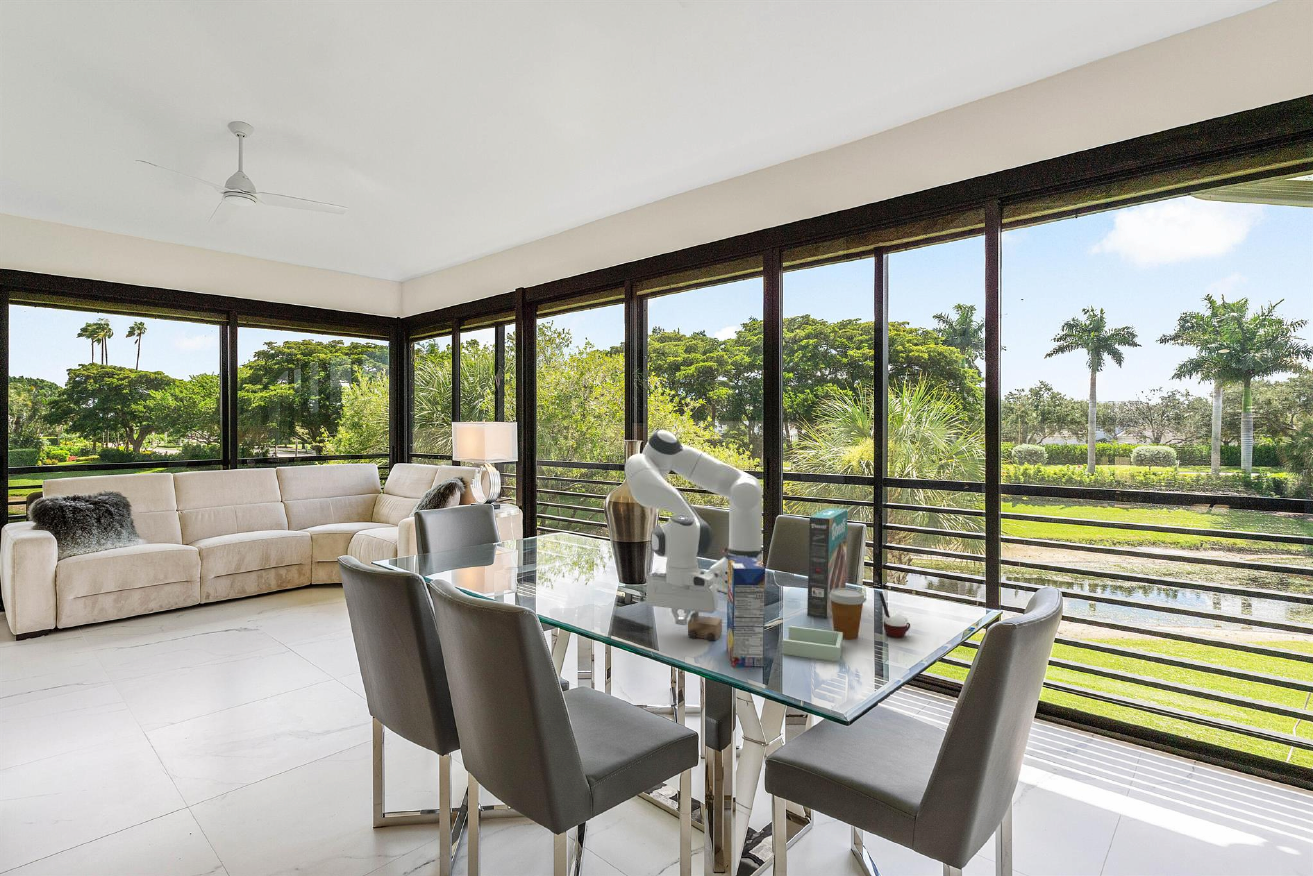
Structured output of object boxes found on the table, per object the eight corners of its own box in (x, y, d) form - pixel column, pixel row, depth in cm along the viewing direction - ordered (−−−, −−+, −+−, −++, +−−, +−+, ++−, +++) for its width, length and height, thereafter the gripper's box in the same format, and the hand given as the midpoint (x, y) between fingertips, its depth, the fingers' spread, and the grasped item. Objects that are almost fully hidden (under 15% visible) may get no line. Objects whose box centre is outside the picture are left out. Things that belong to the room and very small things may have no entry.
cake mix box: (827, 619, 194) (829, 518, 193) (807, 615, 197) (809, 516, 196) (845, 600, 213) (847, 509, 212) (826, 597, 216) (829, 507, 215)
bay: (782, 653, 166) (782, 640, 166) (789, 638, 177) (789, 625, 177) (839, 661, 161) (839, 647, 161) (842, 645, 172) (842, 632, 172)
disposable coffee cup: (821, 632, 182) (822, 589, 182) (848, 627, 186) (849, 586, 186) (843, 643, 174) (844, 598, 173) (871, 638, 177) (872, 595, 177)
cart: (686, 637, 176) (687, 616, 176) (694, 628, 184) (695, 608, 183) (715, 641, 174) (715, 620, 174) (722, 632, 181) (722, 611, 181)
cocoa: (908, 634, 183) (911, 591, 183) (913, 641, 177) (916, 597, 176) (873, 630, 184) (876, 588, 184) (877, 637, 178) (880, 593, 178)
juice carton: (726, 649, 168) (728, 557, 167) (755, 649, 168) (757, 557, 167) (732, 667, 156) (734, 568, 155) (763, 668, 156) (765, 568, 155)
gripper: (642, 574, 181) (642, 623, 182) (714, 581, 174) (713, 632, 175) (650, 568, 187) (650, 616, 187) (720, 575, 180) (719, 625, 180)
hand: (681, 624), depth 181 cm, fingers closed
